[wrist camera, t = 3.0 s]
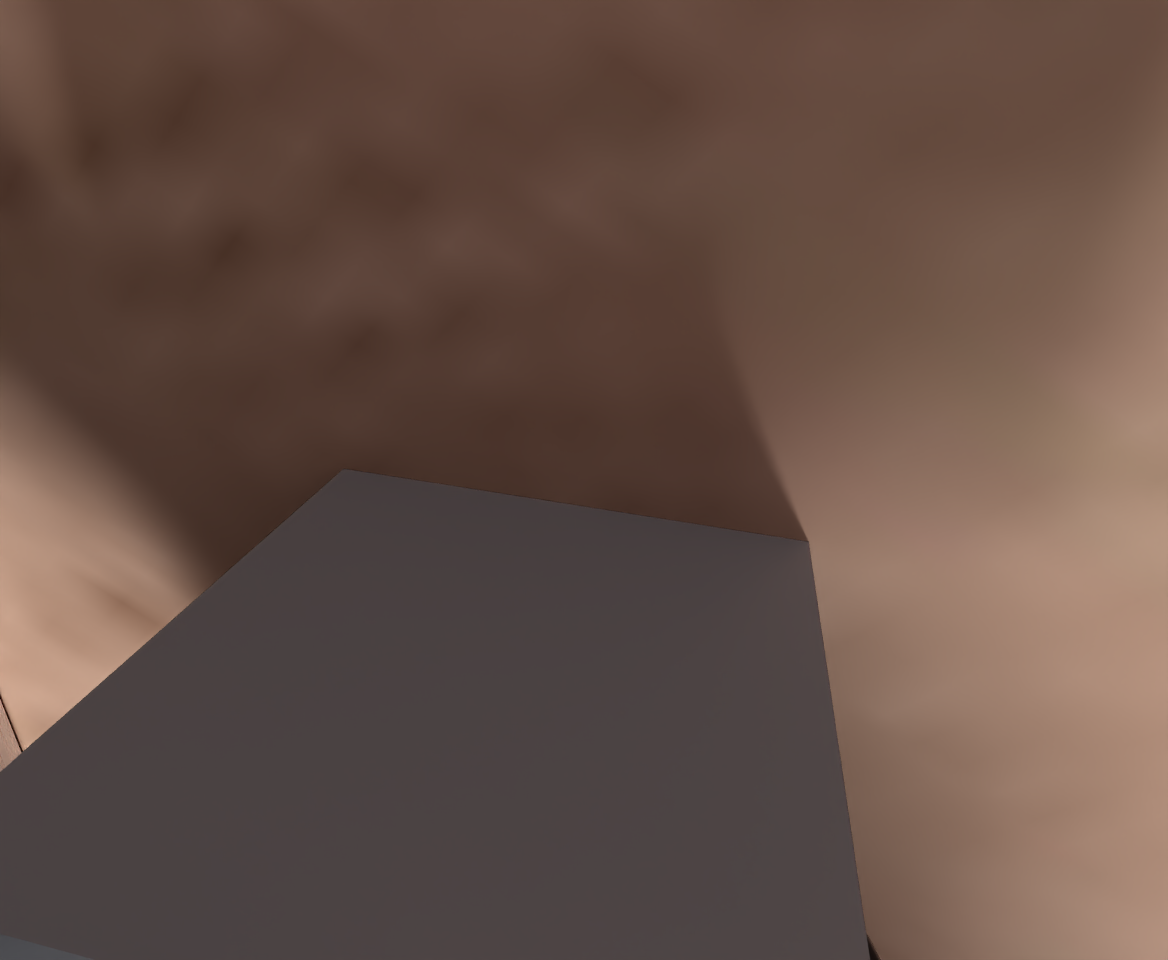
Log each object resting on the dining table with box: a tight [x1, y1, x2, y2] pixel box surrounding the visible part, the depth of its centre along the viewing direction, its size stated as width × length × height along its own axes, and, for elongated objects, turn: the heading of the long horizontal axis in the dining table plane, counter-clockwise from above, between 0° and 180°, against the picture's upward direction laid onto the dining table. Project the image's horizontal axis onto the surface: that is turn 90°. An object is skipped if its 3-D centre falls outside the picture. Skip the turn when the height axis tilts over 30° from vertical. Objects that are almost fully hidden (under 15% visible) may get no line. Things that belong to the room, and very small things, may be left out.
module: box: [0, 469, 870, 960], centre depth 7 cm, size 6×5×5 cm
